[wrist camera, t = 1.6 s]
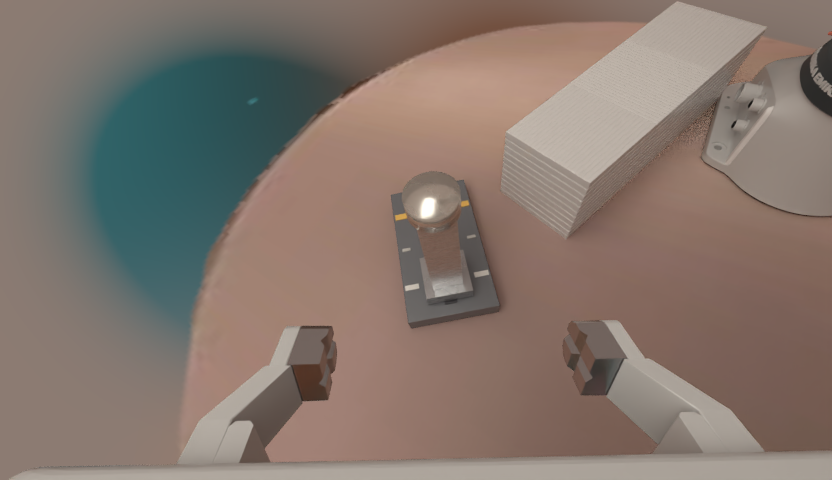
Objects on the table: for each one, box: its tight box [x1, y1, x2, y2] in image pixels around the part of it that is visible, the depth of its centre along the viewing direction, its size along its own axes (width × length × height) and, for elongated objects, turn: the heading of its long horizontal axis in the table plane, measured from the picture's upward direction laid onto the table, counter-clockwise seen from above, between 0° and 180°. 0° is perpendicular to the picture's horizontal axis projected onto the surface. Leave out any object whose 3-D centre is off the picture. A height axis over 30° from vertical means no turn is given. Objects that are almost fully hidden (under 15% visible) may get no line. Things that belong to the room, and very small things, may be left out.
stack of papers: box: [500, 1, 767, 239], centre depth 44 cm, size 32×11×11 cm, turn 130°
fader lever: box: [402, 171, 473, 305], centre depth 33 cm, size 5×5×16 cm
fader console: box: [391, 180, 500, 328], centre depth 43 cm, size 18×10×2 cm, turn 8°
